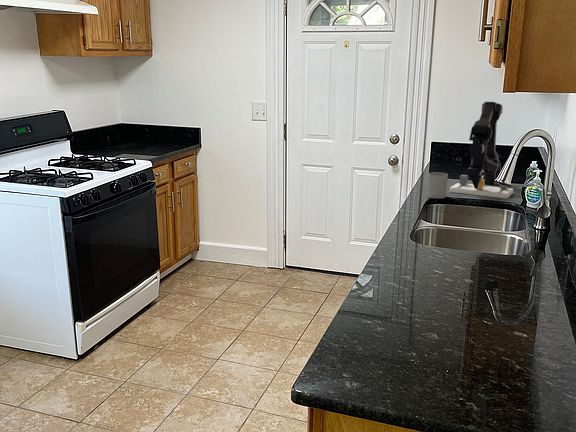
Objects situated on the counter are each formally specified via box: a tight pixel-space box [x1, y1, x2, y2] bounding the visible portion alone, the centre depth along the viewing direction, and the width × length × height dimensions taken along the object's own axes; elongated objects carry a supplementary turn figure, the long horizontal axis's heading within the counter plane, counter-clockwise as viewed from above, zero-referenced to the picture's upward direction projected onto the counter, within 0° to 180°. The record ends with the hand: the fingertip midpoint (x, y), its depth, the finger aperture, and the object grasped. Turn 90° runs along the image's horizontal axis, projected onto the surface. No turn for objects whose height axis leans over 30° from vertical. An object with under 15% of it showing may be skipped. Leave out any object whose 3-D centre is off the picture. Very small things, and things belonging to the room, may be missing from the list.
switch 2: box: [499, 184, 509, 189], centre depth 247 cm, size 3×3×4 cm
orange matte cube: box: [478, 178, 485, 189], centre depth 247 cm, size 3×3×4 cm
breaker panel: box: [448, 182, 514, 199], centre depth 251 cm, size 13×25×2 cm, turn 57°
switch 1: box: [458, 174, 469, 185], centre depth 257 cm, size 3×3×4 cm
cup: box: [426, 171, 449, 199], centre depth 242 cm, size 8×8×10 cm
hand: (476, 188), depth 243 cm, fingers closed
